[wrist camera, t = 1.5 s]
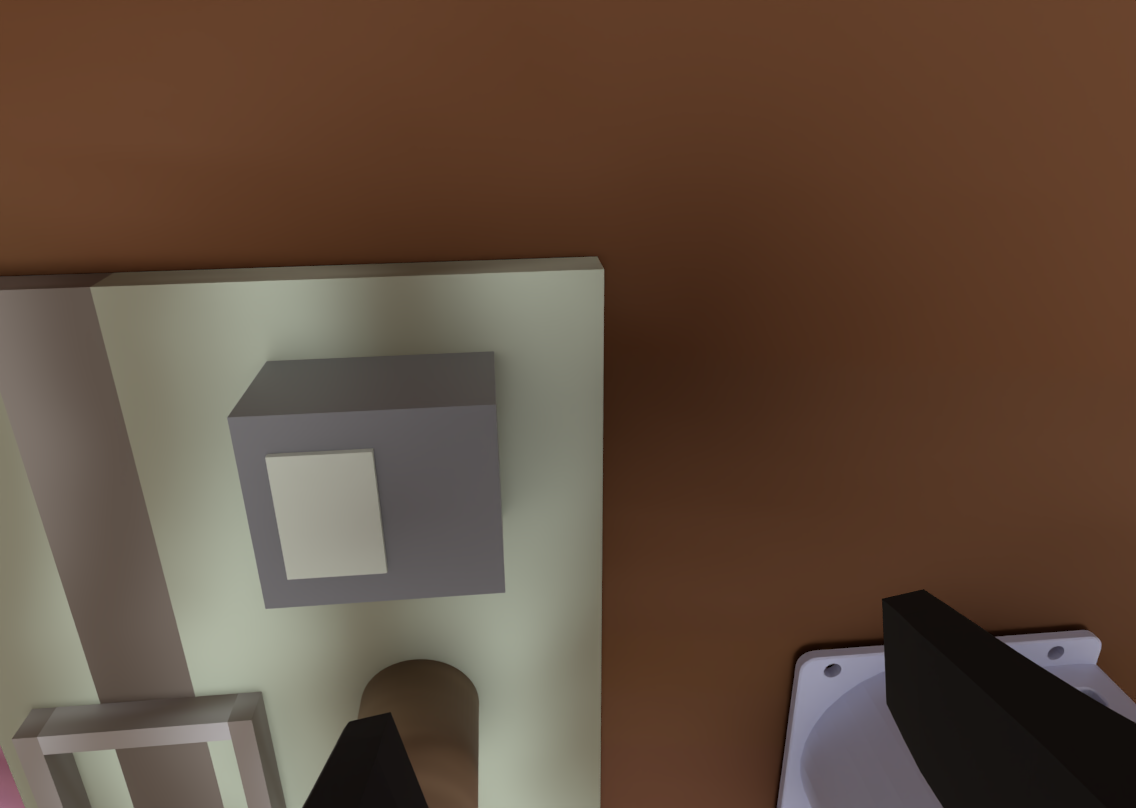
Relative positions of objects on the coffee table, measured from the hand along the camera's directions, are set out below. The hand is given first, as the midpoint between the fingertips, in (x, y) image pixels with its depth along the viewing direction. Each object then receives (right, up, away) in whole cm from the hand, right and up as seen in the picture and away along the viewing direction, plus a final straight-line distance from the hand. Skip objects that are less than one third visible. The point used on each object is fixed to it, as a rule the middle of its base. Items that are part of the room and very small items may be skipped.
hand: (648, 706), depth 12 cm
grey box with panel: (-5, +3, +7) cm, 10 cm away
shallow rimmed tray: (-8, -2, +10) cm, 14 cm away
